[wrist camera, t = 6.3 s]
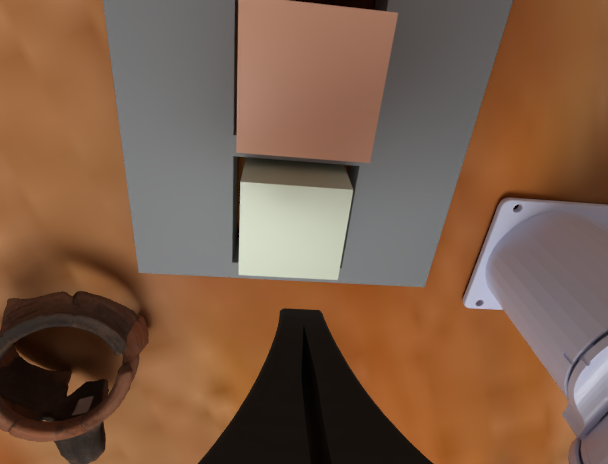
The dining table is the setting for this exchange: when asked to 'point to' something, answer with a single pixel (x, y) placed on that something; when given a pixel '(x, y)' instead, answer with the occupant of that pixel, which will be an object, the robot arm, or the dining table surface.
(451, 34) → the grey rectangular frame
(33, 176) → the dining table surface
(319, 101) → the terracotta key
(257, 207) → the sage key
